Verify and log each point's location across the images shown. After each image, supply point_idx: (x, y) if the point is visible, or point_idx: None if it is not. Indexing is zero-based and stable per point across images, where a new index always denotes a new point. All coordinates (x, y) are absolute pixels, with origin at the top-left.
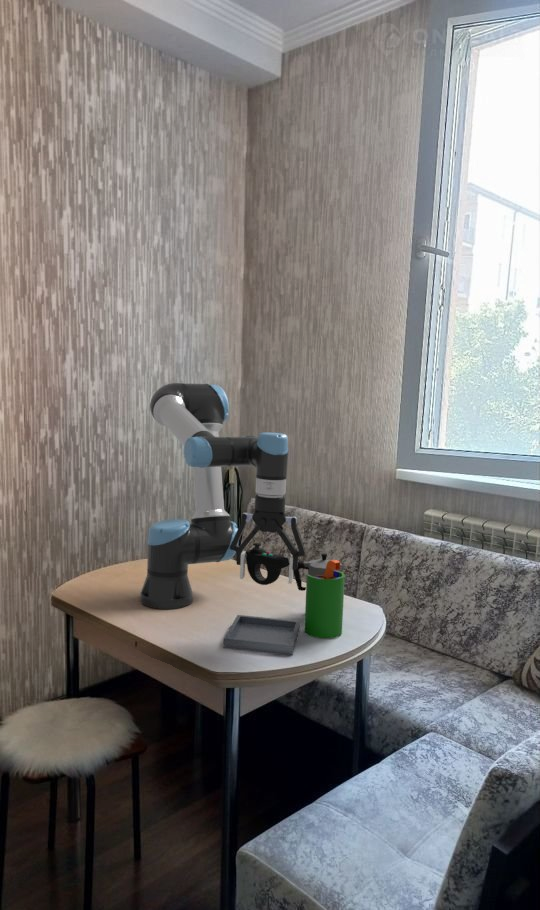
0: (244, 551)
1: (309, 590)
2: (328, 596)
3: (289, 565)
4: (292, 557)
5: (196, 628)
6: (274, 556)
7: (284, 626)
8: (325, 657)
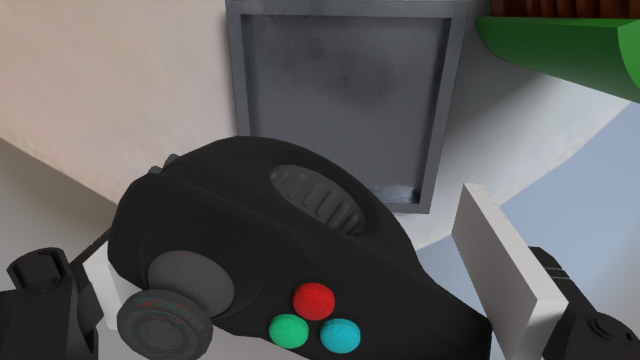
0: (100, 271)
1: (570, 61)
2: None
3: (486, 313)
4: (537, 355)
5: (137, 76)
6: (375, 341)
7: (404, 18)
8: (510, 195)
